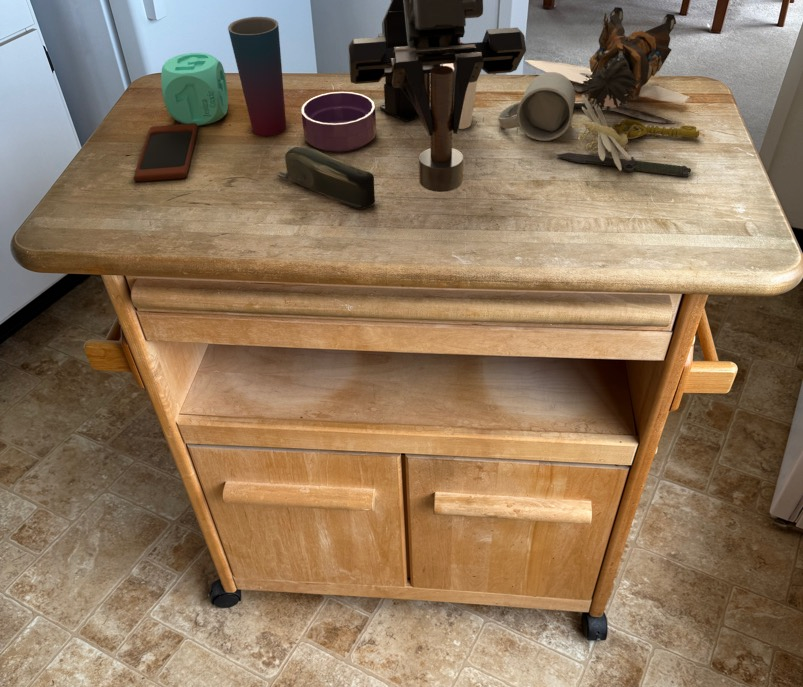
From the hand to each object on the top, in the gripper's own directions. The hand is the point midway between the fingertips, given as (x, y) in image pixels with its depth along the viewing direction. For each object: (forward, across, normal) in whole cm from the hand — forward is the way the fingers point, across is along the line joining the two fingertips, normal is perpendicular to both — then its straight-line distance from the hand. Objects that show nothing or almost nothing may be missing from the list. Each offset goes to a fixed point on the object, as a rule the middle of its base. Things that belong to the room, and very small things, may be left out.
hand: (443, 133), depth 82 cm
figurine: (-25, +38, +36) cm, 58 cm away
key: (-4, +33, +24) cm, 41 cm away
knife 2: (-8, +28, +27) cm, 40 cm away
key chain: (-15, +32, +33) cm, 48 cm away
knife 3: (-1, +27, +19) cm, 33 cm away
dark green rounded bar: (+1, -14, +18) cm, 23 cm away
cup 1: (-13, -21, +32) cm, 41 cm away
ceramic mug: (-8, +18, +27) cm, 33 cm away
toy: (-2, +24, +21) cm, 32 cm away
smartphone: (-15, -35, +33) cm, 51 cm away
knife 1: (-17, +31, +35) cm, 50 cm away
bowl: (-10, -11, +29) cm, 32 cm away
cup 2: (-10, +7, +30) cm, 32 cm away
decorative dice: (-17, -32, +36) cm, 51 cm away
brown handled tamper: (+4, 0, +6) cm, 7 cm away
